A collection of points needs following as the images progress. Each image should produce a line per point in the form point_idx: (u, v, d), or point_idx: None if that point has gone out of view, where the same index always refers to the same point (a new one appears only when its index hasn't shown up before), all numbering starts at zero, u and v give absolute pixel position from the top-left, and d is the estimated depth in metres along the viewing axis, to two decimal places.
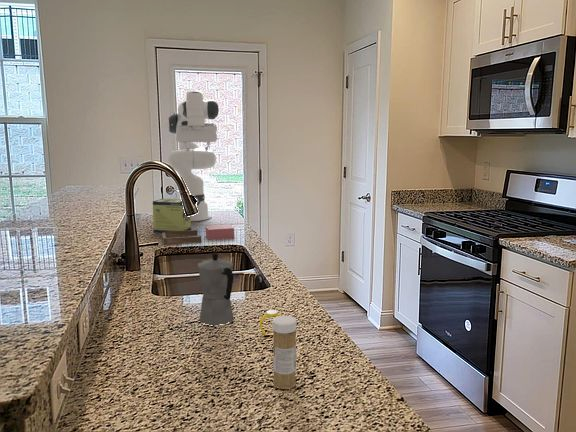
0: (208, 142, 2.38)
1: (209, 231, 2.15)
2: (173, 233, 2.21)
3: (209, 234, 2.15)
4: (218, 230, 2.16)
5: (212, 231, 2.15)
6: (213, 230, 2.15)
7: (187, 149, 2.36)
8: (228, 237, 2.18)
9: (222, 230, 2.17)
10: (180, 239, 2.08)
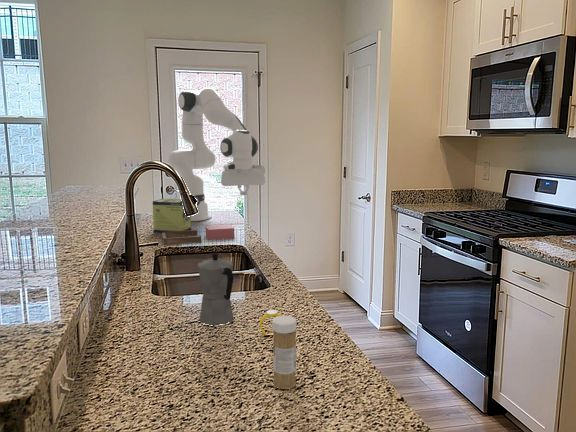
0: (247, 186, 2.20)
1: (209, 231, 2.15)
2: (173, 233, 2.21)
3: (209, 234, 2.15)
4: (218, 230, 2.16)
5: (212, 231, 2.15)
6: (213, 230, 2.15)
7: (242, 193, 2.20)
8: (228, 237, 2.18)
9: (222, 230, 2.17)
10: (180, 239, 2.08)
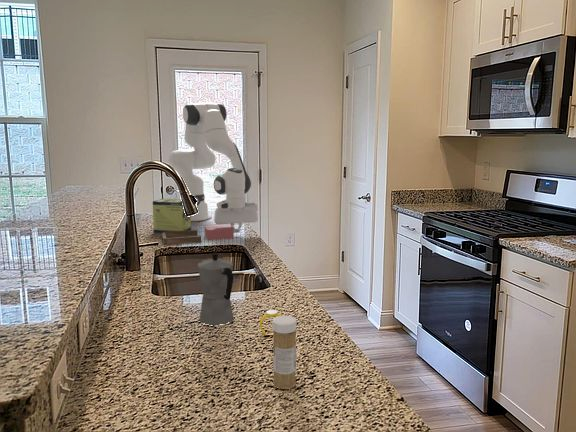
0: (240, 223, 2.22)
1: (208, 231, 2.15)
2: (173, 233, 2.21)
3: (208, 234, 2.15)
4: (217, 230, 2.16)
5: (211, 231, 2.15)
6: (212, 230, 2.15)
7: (235, 231, 2.22)
8: (227, 237, 2.18)
9: (221, 230, 2.17)
10: (180, 239, 2.08)
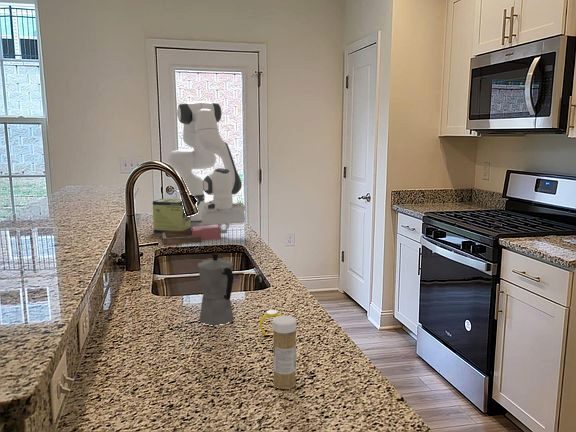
0: (227, 224, 2.20)
1: (195, 232, 2.13)
2: (173, 233, 2.21)
3: (195, 235, 2.13)
4: (204, 231, 2.14)
5: (198, 232, 2.13)
6: (199, 231, 2.13)
7: (222, 232, 2.20)
8: (214, 238, 2.16)
9: (208, 231, 2.15)
10: (180, 239, 2.08)
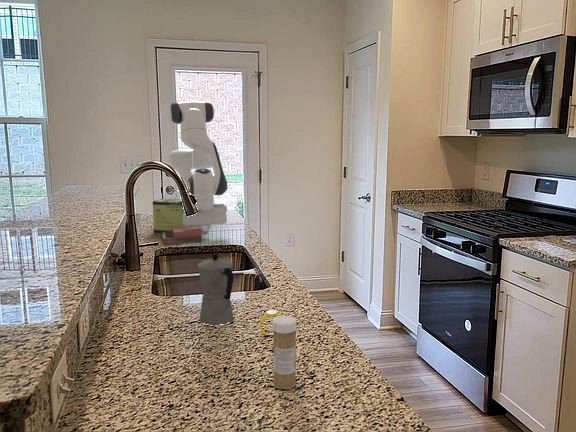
0: (208, 225, 2.18)
1: (175, 233, 2.10)
2: None
3: None
4: (185, 232, 2.11)
5: (179, 233, 2.10)
6: (180, 232, 2.10)
7: (203, 233, 2.18)
8: None
9: (189, 232, 2.12)
10: (180, 239, 2.08)
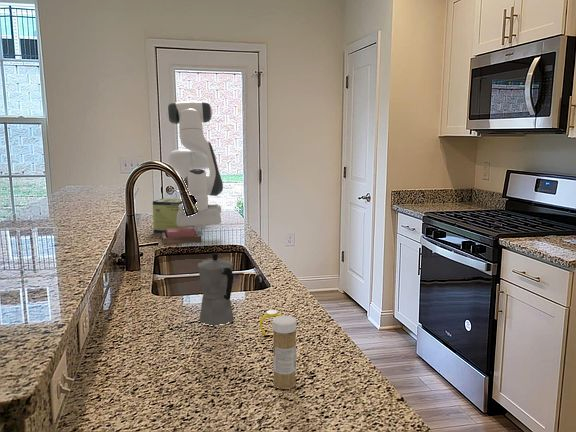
0: (203, 226, 2.17)
1: (169, 234, 2.09)
2: None
3: (169, 237, 2.10)
4: (178, 233, 2.10)
5: (172, 234, 2.10)
6: (173, 233, 2.10)
7: (197, 233, 2.17)
8: None
9: (183, 233, 2.11)
10: (180, 239, 2.08)
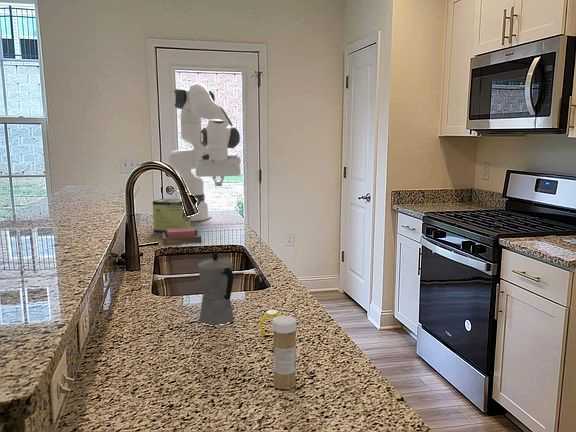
0: (222, 177, 2.16)
1: (169, 234, 2.09)
2: None
3: (169, 237, 2.10)
4: (178, 233, 2.10)
5: (172, 234, 2.10)
6: (173, 233, 2.10)
7: (217, 184, 2.16)
8: None
9: (182, 233, 2.11)
10: (180, 239, 2.08)
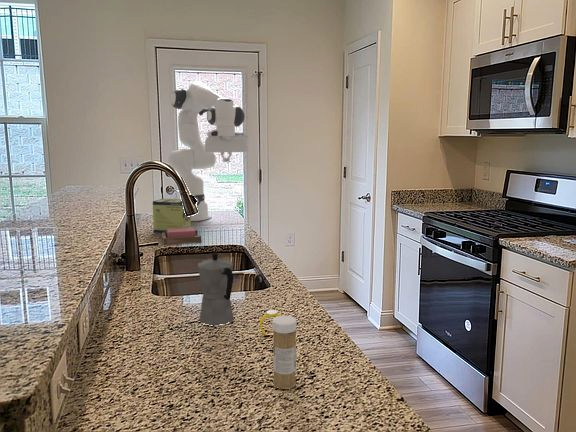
0: (230, 153, 2.27)
1: (169, 234, 2.09)
2: None
3: (169, 237, 2.09)
4: (178, 233, 2.10)
5: (172, 234, 2.10)
6: (173, 233, 2.10)
7: (224, 160, 2.27)
8: None
9: (183, 233, 2.11)
10: (180, 239, 2.08)
